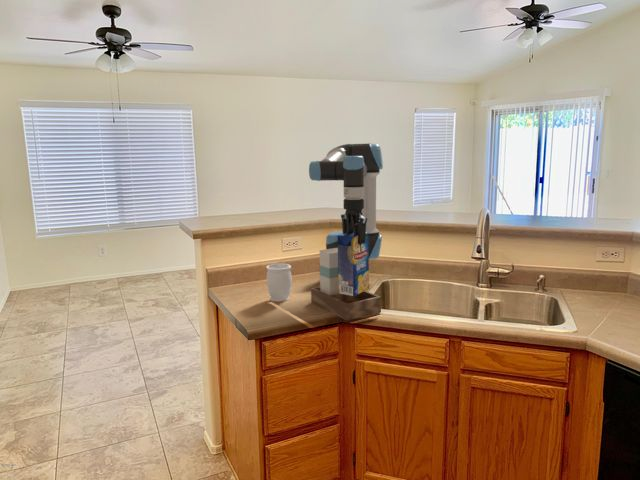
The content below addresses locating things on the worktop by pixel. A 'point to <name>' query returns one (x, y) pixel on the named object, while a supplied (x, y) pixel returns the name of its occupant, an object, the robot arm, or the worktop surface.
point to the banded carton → (329, 271)
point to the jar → (279, 281)
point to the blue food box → (353, 264)
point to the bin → (347, 304)
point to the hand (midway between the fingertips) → (353, 260)
